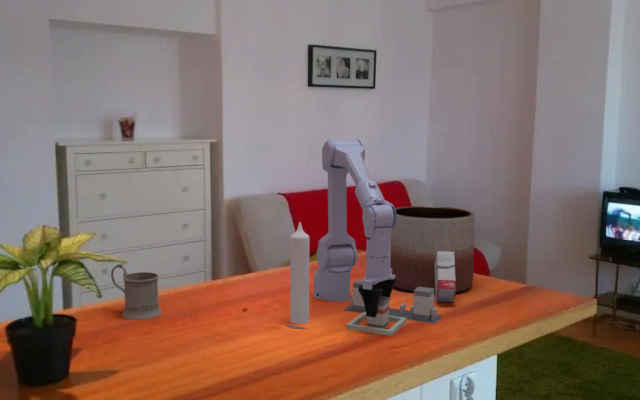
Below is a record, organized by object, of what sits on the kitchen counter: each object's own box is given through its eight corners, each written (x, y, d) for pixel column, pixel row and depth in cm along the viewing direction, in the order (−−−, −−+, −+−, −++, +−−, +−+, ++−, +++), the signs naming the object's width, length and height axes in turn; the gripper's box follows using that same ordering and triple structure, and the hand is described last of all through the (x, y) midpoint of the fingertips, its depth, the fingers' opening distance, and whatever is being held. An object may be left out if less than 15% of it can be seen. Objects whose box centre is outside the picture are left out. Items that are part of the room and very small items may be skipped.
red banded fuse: (366, 328, 155) (367, 299, 154) (372, 323, 158) (373, 294, 158) (383, 330, 153) (383, 301, 152) (388, 325, 157) (389, 297, 156)
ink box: (457, 290, 169) (454, 250, 176) (437, 289, 170) (436, 250, 177) (453, 305, 176) (451, 266, 183) (435, 304, 177) (434, 266, 184)
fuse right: (412, 318, 161) (413, 290, 160) (417, 313, 165) (418, 286, 164) (428, 320, 159) (429, 292, 159) (433, 316, 163) (434, 288, 162)
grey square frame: (346, 332, 153) (346, 324, 153) (363, 319, 163) (364, 311, 163) (391, 340, 149) (391, 331, 148) (406, 326, 158) (406, 317, 158)
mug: (169, 310, 169) (168, 265, 168) (144, 321, 160) (143, 273, 159) (125, 303, 175) (124, 259, 174) (99, 313, 166) (97, 267, 165)
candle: (318, 321, 161) (319, 220, 158) (308, 330, 154) (308, 225, 151) (291, 318, 163) (291, 219, 160) (280, 327, 157) (280, 223, 153)
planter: (412, 270, 214) (414, 203, 211) (486, 283, 199) (489, 210, 196) (370, 286, 194) (371, 212, 191) (449, 301, 179) (452, 221, 176)
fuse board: (342, 313, 168) (343, 300, 167) (353, 306, 174) (353, 293, 173) (435, 327, 157) (435, 313, 157) (442, 319, 164) (443, 305, 163)
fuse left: (352, 309, 168) (352, 282, 167) (358, 305, 172) (358, 279, 171) (367, 311, 166) (367, 284, 165) (372, 307, 170) (373, 281, 169)
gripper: (384, 263, 145) (382, 323, 147) (404, 251, 158) (403, 306, 160) (354, 260, 148) (353, 318, 150) (377, 248, 161) (375, 302, 163)
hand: (377, 312), depth 155 cm, fingers open, 7 cm apart
